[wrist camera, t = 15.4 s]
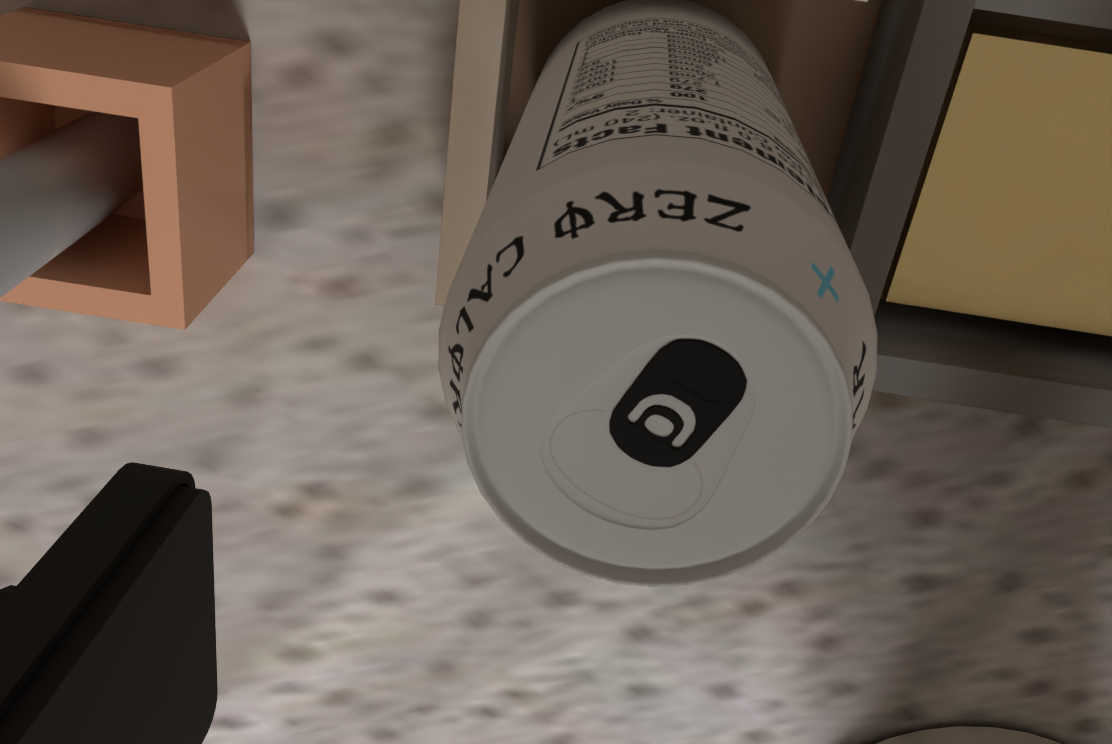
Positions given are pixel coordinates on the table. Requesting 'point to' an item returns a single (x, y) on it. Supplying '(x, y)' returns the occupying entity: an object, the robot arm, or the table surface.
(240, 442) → the table surface
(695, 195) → the energy drink can
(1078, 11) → the wooden tray
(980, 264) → the khaki flat square slab
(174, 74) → the square terracotta planter
